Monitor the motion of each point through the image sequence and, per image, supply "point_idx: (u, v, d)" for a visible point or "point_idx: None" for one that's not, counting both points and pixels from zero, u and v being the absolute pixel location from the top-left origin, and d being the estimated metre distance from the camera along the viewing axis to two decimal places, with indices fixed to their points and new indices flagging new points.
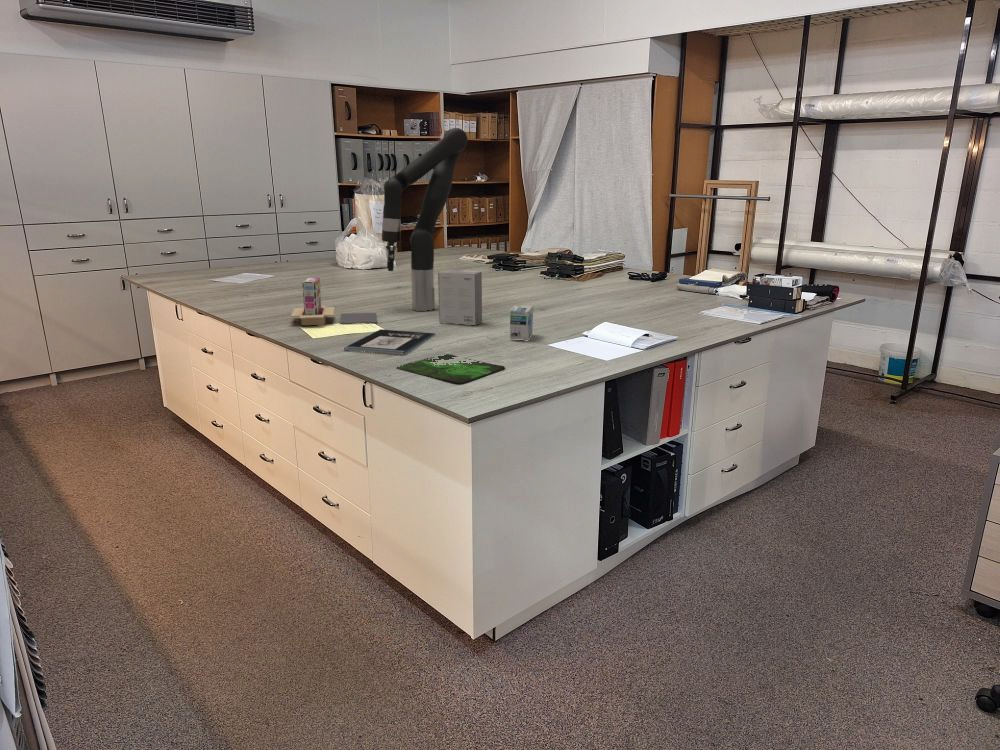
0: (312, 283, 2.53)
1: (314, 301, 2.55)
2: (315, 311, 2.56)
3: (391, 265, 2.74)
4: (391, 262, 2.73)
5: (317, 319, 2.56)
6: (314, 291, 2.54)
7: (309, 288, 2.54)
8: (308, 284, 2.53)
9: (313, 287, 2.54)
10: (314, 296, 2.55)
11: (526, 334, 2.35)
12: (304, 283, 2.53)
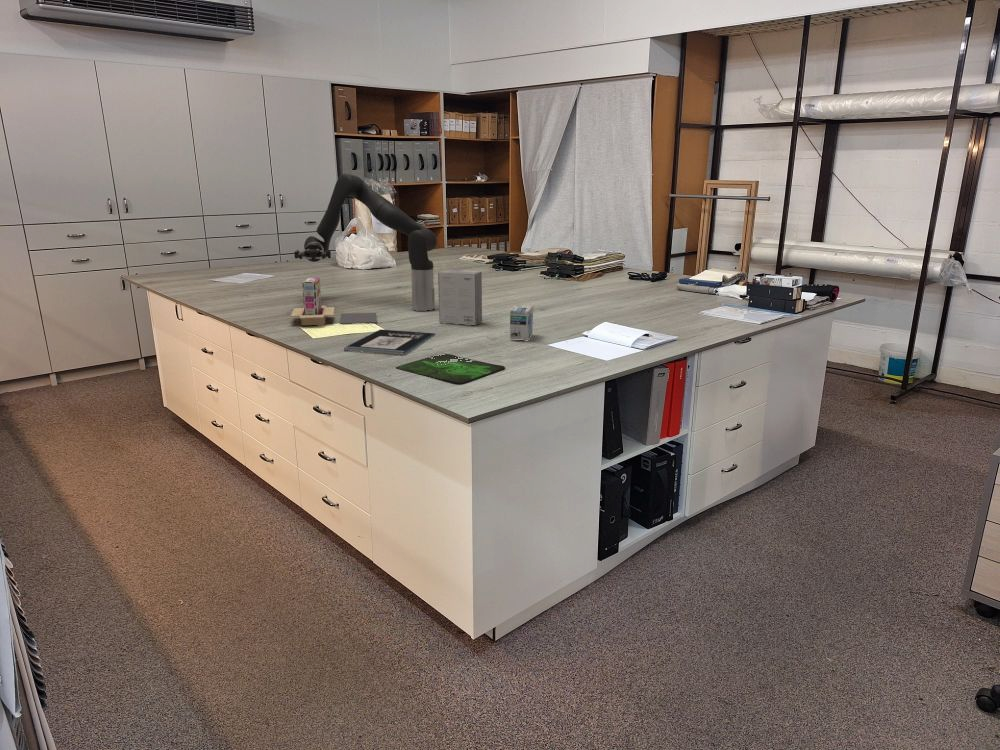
0: (312, 283, 2.53)
1: (314, 301, 2.55)
2: (315, 311, 2.56)
3: None
4: None
5: (317, 319, 2.56)
6: (314, 291, 2.54)
7: (309, 288, 2.54)
8: (308, 284, 2.53)
9: (313, 287, 2.54)
10: (314, 296, 2.55)
11: (526, 334, 2.35)
12: (304, 283, 2.53)
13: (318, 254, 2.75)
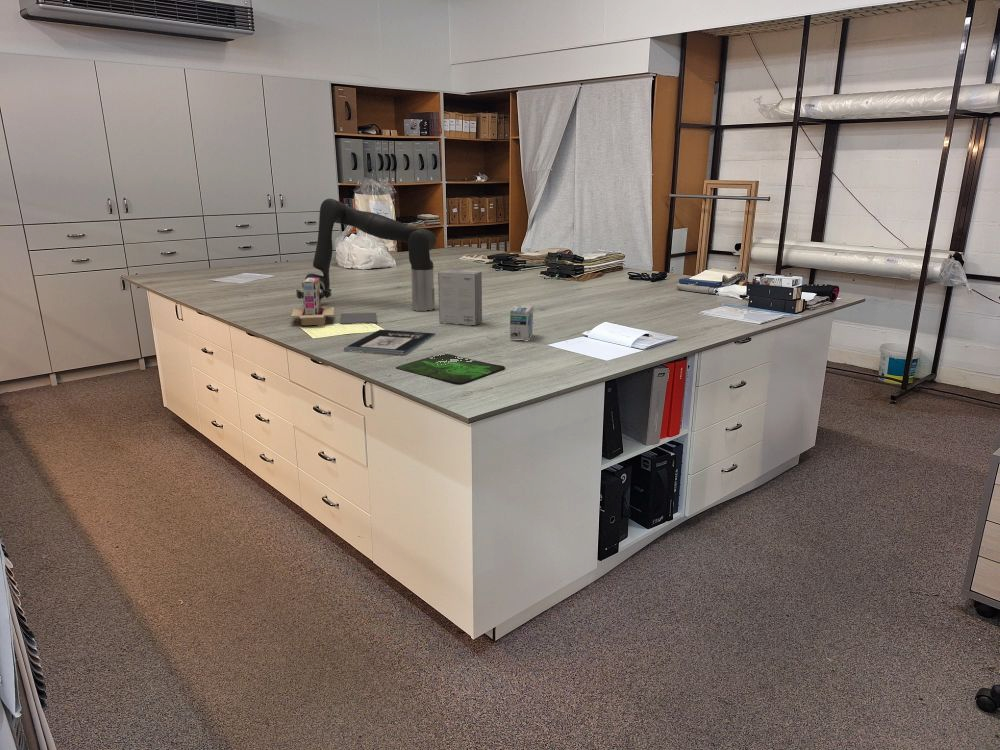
0: (312, 283, 2.53)
1: (314, 301, 2.55)
2: (315, 311, 2.56)
3: None
4: (302, 295, 2.63)
5: (317, 319, 2.56)
6: (314, 291, 2.54)
7: (309, 288, 2.54)
8: (308, 284, 2.53)
9: (313, 287, 2.54)
10: (314, 296, 2.55)
11: (526, 334, 2.35)
12: (304, 283, 2.53)
13: None
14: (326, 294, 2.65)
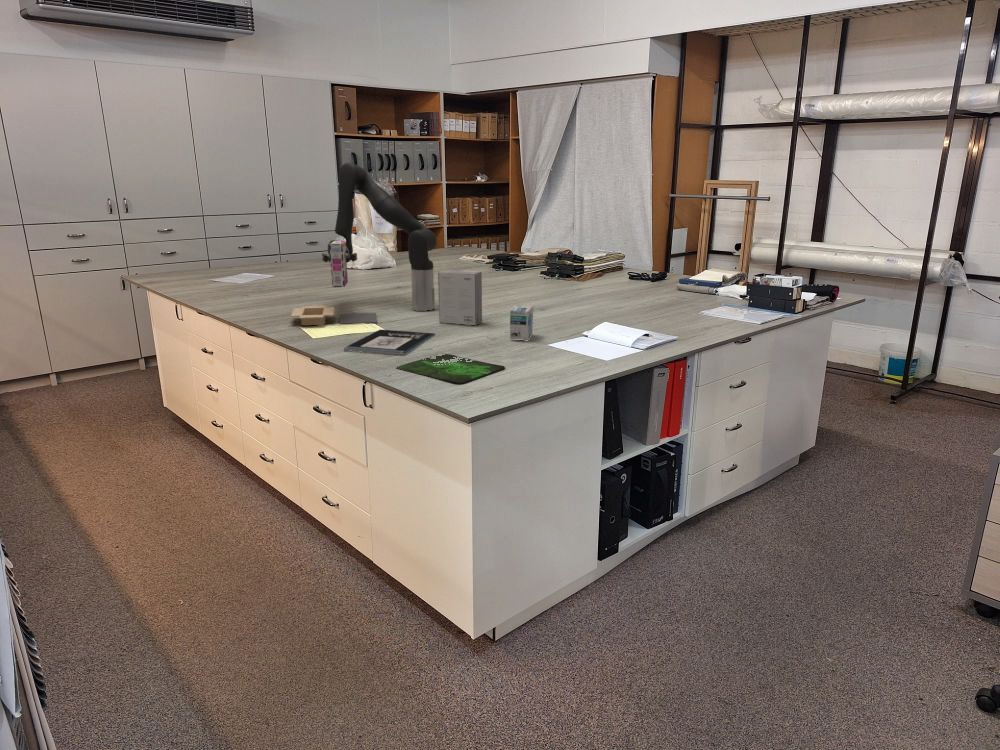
0: (339, 245, 2.52)
1: (341, 263, 2.54)
2: (342, 273, 2.55)
3: (328, 258, 2.60)
4: (328, 258, 2.61)
5: (317, 319, 2.56)
6: (341, 253, 2.53)
7: (336, 250, 2.52)
8: (335, 246, 2.52)
9: (340, 249, 2.52)
10: (341, 258, 2.53)
11: (526, 334, 2.35)
12: (331, 245, 2.52)
13: None
14: (352, 258, 2.64)
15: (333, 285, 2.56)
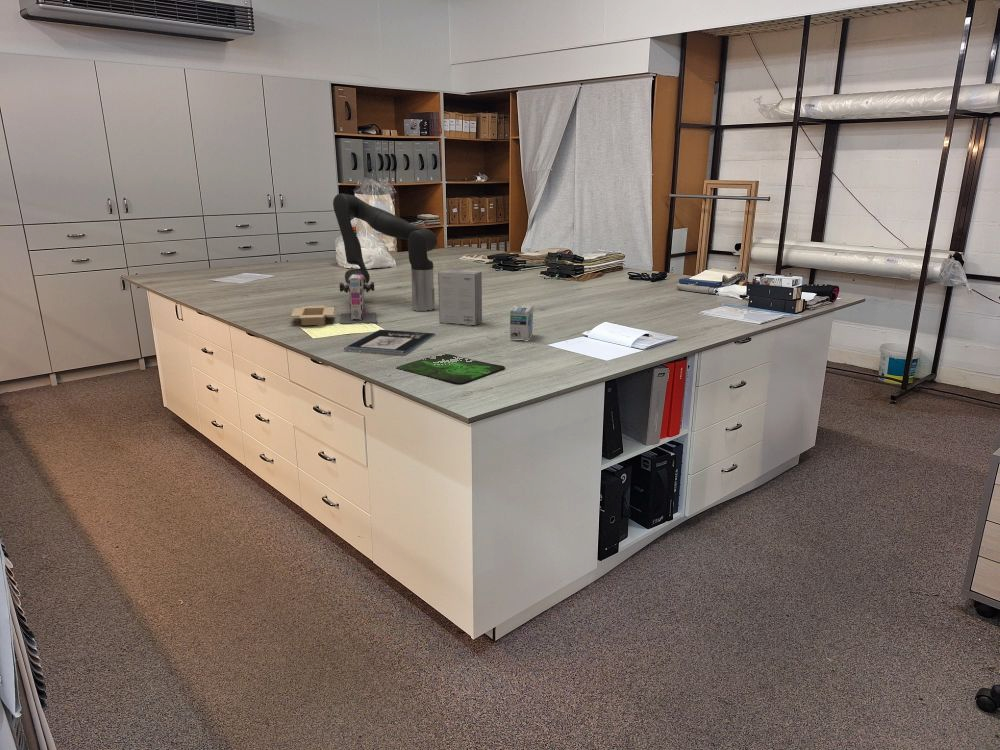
0: (358, 280, 2.59)
1: (360, 297, 2.61)
2: (361, 307, 2.62)
3: (344, 288, 2.66)
4: (344, 288, 2.67)
5: (317, 319, 2.56)
6: (360, 287, 2.60)
7: (355, 285, 2.59)
8: (354, 281, 2.59)
9: (359, 284, 2.59)
10: (360, 292, 2.60)
11: (526, 334, 2.35)
12: (350, 280, 2.58)
13: None
14: (372, 287, 2.70)
15: (351, 318, 2.62)
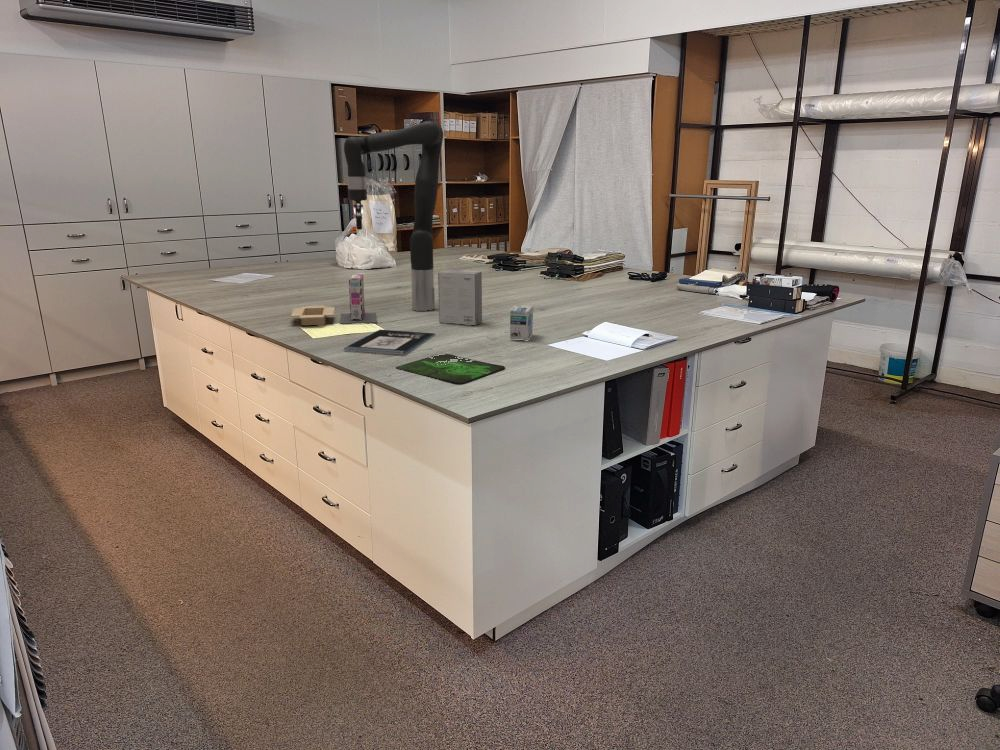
0: (358, 280, 2.59)
1: (360, 297, 2.61)
2: (361, 307, 2.62)
3: (359, 223, 2.76)
4: (359, 220, 2.76)
5: (317, 319, 2.56)
6: (360, 287, 2.60)
7: (355, 285, 2.59)
8: (354, 281, 2.59)
9: (359, 284, 2.59)
10: (360, 292, 2.60)
11: (526, 334, 2.35)
12: (350, 280, 2.58)
13: None
14: None
15: (351, 318, 2.62)
